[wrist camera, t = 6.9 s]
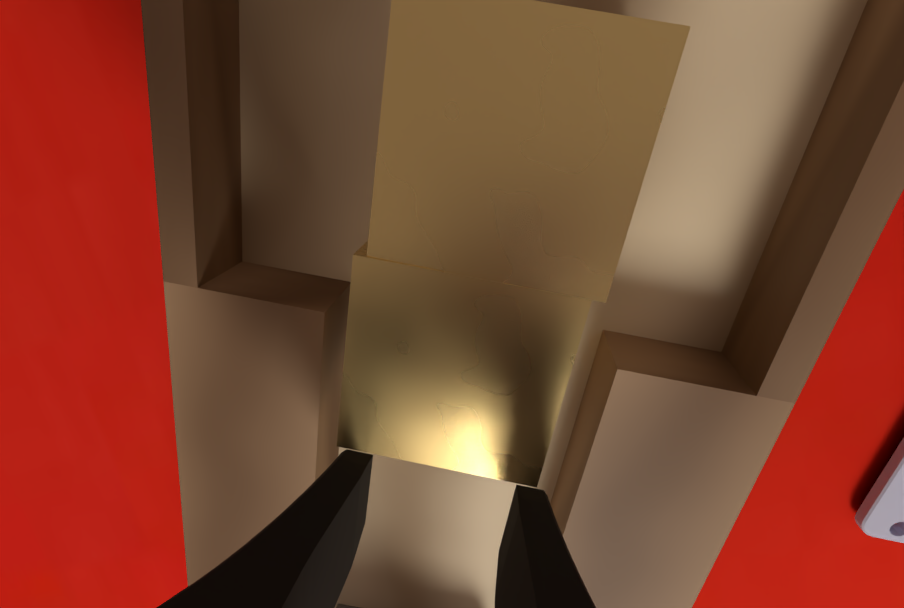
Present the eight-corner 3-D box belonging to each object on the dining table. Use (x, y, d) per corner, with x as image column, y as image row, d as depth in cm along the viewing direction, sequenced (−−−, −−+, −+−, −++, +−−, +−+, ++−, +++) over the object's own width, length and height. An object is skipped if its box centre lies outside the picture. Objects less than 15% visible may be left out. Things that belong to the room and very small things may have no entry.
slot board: (948, -156, 9) (1131, -263, 6) (572, 726, 20) (581, 824, 18) (222, -253, 10) (109, -387, 7) (241, 649, 21) (200, 732, 18)
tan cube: (567, 237, 12) (592, 300, 8) (529, 380, 13) (536, 487, 10) (401, 206, 12) (352, 255, 8) (383, 351, 14) (336, 446, 10)
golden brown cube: (628, 52, 10) (690, 26, 7) (578, 239, 12) (605, 302, 8) (437, 20, 10) (394, -23, 7) (412, 208, 12) (366, 256, 8)
